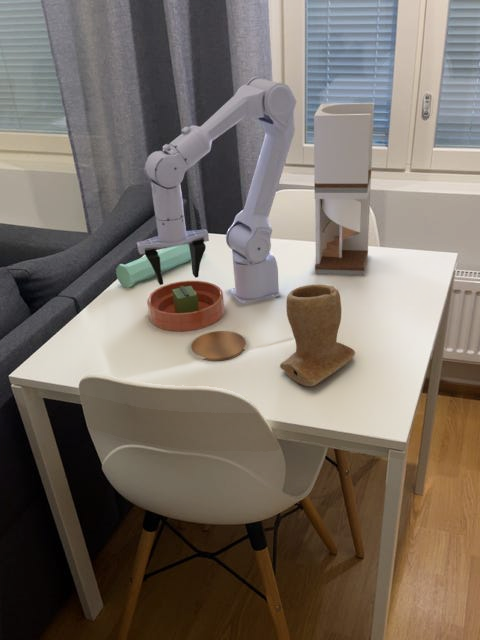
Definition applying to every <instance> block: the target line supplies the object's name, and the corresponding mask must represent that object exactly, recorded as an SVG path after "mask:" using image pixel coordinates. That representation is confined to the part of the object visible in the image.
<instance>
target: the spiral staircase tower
mask: <svg viewBox="0 0 480 640" xmlns="http://www.w3.org/2000/svg"><path fill="white" fill-rule="evenodd" d="M374 110H375V102H347V103H346V102H345V103H344V102H343V103H342V102H341V103H320V105H319V107H318V108H317V110H316V111H315V113H314V114H313V139H314V140H313V147H314V149H313V151H314V152H313V154H314V156H313V160H314V161H313V162H314V163H313V164H314V165H313V170H314V174H313V175H314V178H313V179H314V180H313V181H314V182H313V183H314V200H315V201H314V203H315V204H314V205H315V206H314V207H315V212H314V213H315V217H314V218H315V219H314V220H315V221H314V222H315V264H314V275H334V276H360V277H361V276H365V273H366V267H367V262H368V258H369V238H370V237H369V236H370V214H371V211H370V208H371V187H372V186H371V185H372V165H373V163H372V162H373V138H374V118H375V117H374V115H375V111H374Z"/></svg>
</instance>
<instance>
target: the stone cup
mask: <svg viewBox="0 0 480 640" xmlns="http://www.w3.org/2000/svg"><path fill="white" fill-rule="evenodd" d="M285 303H286V309H285V310H286V317H287V320H288V322H289V325H290V329H291V332H292V335H293V337H294V341H295V352H294V353H292V354H291V355H290V356H289V357H288V358H286V359H285V360H284V361H282V362H281V363H280V364H279V367H280V368H281V370H282V371H283V372H285V374H286V375H287V376H288V377H289V378H290V379H291V380H293V381H294V382H296V383H298V384H300V385H302V386H305V387H313V386H316V385H318V384H319V383H321V382H322V381H323V380H325V379H327V378H328V377H329V376H331V375H333V374H334V373H335V372H337V371H338V370H340V369H341V368H342V367H344V366H345V365H346V364H348V362H349V361H351V360H352V359H353V358H354V356H355V355H356V351H355V350H354V349H353V348H351V347H350V346H348V345H345V344H344V343H341V342H338V341H337V339H338V333H339V328H340V326H341V321H342V300H341V295H340V291H339V290H338V289H337V288H336V287H334V286H332V285H326V284H307V285H303V286H302V285H301V286H298V287H296V288H294V289H292V290H291V291H290V292H288V294H287V297H286V302H285Z"/></svg>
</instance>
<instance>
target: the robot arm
mask: <svg viewBox="0 0 480 640" xmlns="http://www.w3.org/2000/svg"><path fill="white" fill-rule="evenodd" d="M296 105H297V99H296V97H295V94H294V93H293V91H292V89H291V87H290V86H289V85H288V84H286V83H285V82H277V81H272V80H269V79H265V78H264V77H261V76H255V77H252V78H250V79H249V80H248V81H247V83H245V84H243V85H241V86H240V87H239V88H238V89H237V91H236V93H235V94H234V95H233V96H231V98H230V99H229V100H228V101H226V102H225V103H224V104H223V105H222V106H221V107H220V108H219V109H218V110H217V111H215V113H214V114H212V115H211V116H210V117H209V118H208V119H207V120H206V121H204V123H203V124H202V125H200V126H199V125H193V124H191V125H190V126H184V127H183V128H181V134H180V135H179V136H177V137H176V138H174V139H173V140H172V141H171V142H169V144H168V143H165V144H164V145H163V146H162V150H156V151H153V152H152V153H150V154H149V155H148V157H147V158H146V159H147V160H146V161H145V165H144V167H143V173H144V175H145V176H146V177H147V178H148V180H149V181H150V186H151V193H152V194H151V197H152V201H153V203H152V204H153V209H154V215H155V223H156V229H157V230H156V231H157V235H156V236H153V237H150V238H147V239H145V240H141V241H137V242H136V245H137V251H138V253H139V255H145V256H146V257H147V258H148V260H149V262H150V263H151V265H152V267H153V269H154V271H155V274H156V275H155V276H156V280H157V282H158V285H159V286H164V279H163V278H164V277H163V274H162V273H161V267H160V257H159V255H158V252H157V251H160V250H162V249H165V248H170V247H175V246H180V245H185V244H189V249H190V254H191V260H190V262H191V263H190V264H191V270H192V272H191V273H192V275H193V276H194V278H199V275H200V273H199V272H200V266H201V263H202V259H203V256H204V254H205V251H206V248H207V247H206V242H209V241H210V237H209V232H208V230H207V229H205V228H203V229H197V230H187V225H186V218H185V210H184V202H183V201H184V200H183V193H182V185H181V183H182V182H183V180H184V177H185V175H186V172H187V171H188V170H189V169H191V168H192V167H193V166H194V165H195V164H197V162H199V161H200V160H202V159H203V157H205V156H206V155H207V154H209V153H210V152H211V149H212V143H213V141H215V140H216V139H217V138H218V137H220V136H222V135H223V134H224V133H225V132H227V131H228V130H230V129H231V128H233V127H234V126H235V125H237V124H238V123H239V122H241V121H242V120H243V119H246V118H248V119H249V118H250V119H251V118H252V119H253V118H254V119H255V118H256V119H258V121H259V123H260V125H261V126H262V128H263V130H264V133H265V136H264V139H263V143H262V146H261V148H260V152H259V155H258V159H257V163H256V166H255V170H254V173H253V176H252V180H251V184H250V187H249V190H248V194H247V197H246V200H245V203H244V207H243V209H242V210H241V211H240V212H238V213H237V214H236V215H235V217H234V219H233V222H232V224H231V225H230V226H229V228H228V230H226V234H225V242H226V244H227V247H228V248H229V249H231V254H232V266H233V267H232V268H233V279H234V280H233V281H234V288H230V289H229V292H230V293H231V294H232V296H234V298H235V299H236V300H237V301H238V303H239V304H245V303H250V302H255V301H260V300H265V299H270V298H272V297H274V298H279V297H281V294H280V291H279V290H280V289H279V268H278V262H277V259H276V257H275V255H274V254H273V253H272V252H271V249H272V247H271V246H272V243H271V242H272V241H271V237H272V234H273V229H272V225H271V222H270V219H269V217H270V213H271V210H272V207H273V203H274V200H275V197H276V194H277V190H278V187H279V184H280V180H281V178H282V175H283V171H284V169H285V164H286V161H287V158H288V154H289V152H290V148H291V145H292V141H293V138H294V136H295V108H296Z"/></svg>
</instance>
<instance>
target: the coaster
mask: <svg viewBox="0 0 480 640" xmlns="http://www.w3.org/2000/svg"><path fill="white" fill-rule="evenodd" d="M190 345H191V347H190V348H191V351H192V352H193V353H194V354H195V355H196V356H199V357H201V358H202V360H204V361H210V362H222V361H227V360H230V359H233V358H237V357H238V356H239V355H241V354H242V353H244V352H245V349H246V345H247V341H246V339H245V338H244V336H243V335H241V334H239V333H238V332H234V331H228V330H217V331H211V332H206V333H203V334H201V335H199V336H197V337H196V338H195V339H194V340H193V341H192V343H191V344H190Z"/></svg>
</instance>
